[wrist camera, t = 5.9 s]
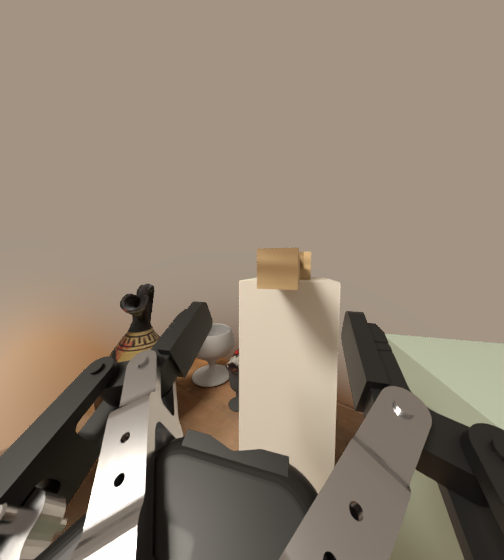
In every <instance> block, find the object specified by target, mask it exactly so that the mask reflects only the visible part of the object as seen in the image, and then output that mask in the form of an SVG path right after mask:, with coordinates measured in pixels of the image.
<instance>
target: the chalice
mask: <svg viewBox="0 0 504 560" xmlns="http://www.w3.org/2000/svg"><path fill="white" fill-rule="evenodd" d="M233 347H234V335H233V332H232V330H231V328H230V327H229V326H228V325H224V324H212V328H211V330H210V332H209V334H208V336H207V338H206V340H205V342H204V343H203V345H202V347H201V349H200V351H199V353H198V355H197V356H196V358H198V359H202V360H206V361H207V362H208V363H209V365H207V366H204V367H201V368H199V369H198V370H196V371H195V372H194V373H193V375H192V381H193V382H194V383H195V384H196V385H199V386H202V387H213V386H218V385H221V384H223V383H225V382H226V381H228V380H229V373H228V370H227V369H226V367H225V366H224V365H219V364H215V363H216V361H217V360H218V359H220V358H222V357H224V356H226V355H227V354H229V353H230V352H231V350H232V349H233Z"/></svg>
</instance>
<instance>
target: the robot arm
mask: <svg viewBox="0 0 504 560" xmlns="http://www.w3.org/2000/svg"><path fill="white" fill-rule="evenodd" d="M211 328H212V317H211V314H210V312H209V309H208V306H207V303H205V302H193V303H192V304H191V305H190V306H189V308H188V309H185V310H184V311H182V312H181V313H180V314H179V315H178V316H177V317H176V318H175V319H174V320H173V323H171V324H170V326H169V328H167V329H166V331H165V332H164V333H163V335H162V336H161V337H160V338H159V339H158V341H157V342H156V343H155V344H154V346H153V347H152V348H151V349H150V350H145V351H142V352H140V353H138V354H137V355H135V356H134V357H133V358H132V359H131V360H129V361H123V362H117V363H116V362H115V361H114V360H113V358H111V357H103V358H100V359H98V360H96V361H95V362H93V363H91V364H90V365H89V366H88V367H87V368H86V369H85V370H84V371H83V372H82V373H81V374H80V375H79V376H78V377H77V378H76V379H75V380H74V381H73V382H72V383H71V384H70V385H69V386H68V388H66V389H65V390H64V392H63V393H62V394H61V395H60V396H59V397H58V398H57V399H56V400H55V401H54V402H53V403H52V404H51V405H50V406H49V407H48V408H47V409H46V410H45V411H44V412H43V413H42V414H41V415H40V416H39V417H38V418H37V419H36V421H35V422H34V423H33V424H32V425H31V426H30V427H29V428H28V429H27V430H26V431H25V432H24V433H23V434H22V435H21V436H20V437H19V438H18V439H17V440H16V441H15V442H14V443H13V444H12V445H11V446H10V447H9V448H8V449H7V450H6V451H5V453H4V454H3V455H2V456H1V457H0V560H389V558H390V555H391V552H392V550H393V547H394V544H395V541H396V538H397V536H398V533H399V530H400V527H401V524H402V521H403V519H404V516H405V513H406V510H407V507H408V504H409V501H410V496H411V489H410V483H411V479H412V477H413V474H414V471H415V470H417V471H419V472H420V473H422V474H424V475H426V476H427V477H429V478H431V479H432V480H434V481H436V482H437V484H438V487H439V490H440V492H441V495H442V498H443V501H444V504H445V507H446V509H447V512H448V515H449V518H450V521H451V523H452V526H453V529H454V532H455V535H456V538H457V540H458V543H459V546H460V549H461V552H462V554H463V557H464V560H504V430H503V429H501V428H498V427H496V426H493V425H490V424H486V423H476V424H474V425H472V426H471V427H468V426H466V425H464V424H461V423H459V422H457V421H454V420H452V419H450V418H448V417H445V416H443V415H441V414H438V413H436V412H434V411H433V410H431V409H429V408H428V407H427V406H426V405H425V404H424V403H423V402H422V401H421V400H420V399H419V398H418V397H417V396H416V395H414V394H413V393H412V392H411V390H410V389H409V387H408V385H407V383H406V380H405V378H404V376H403V374H402V371H401V369H400V367H399V365H398V363H397V360H396V358H395V356H394V354H393V353H392V349H391V347H390V345H389V344H388V343H389V342H388V340H387V338H386V336H385V333H384V332H383V331H382V330H381V329H380V328H379V327H378V326H377V325H376V324H372V323H367V320H366V318H365V315H364V313H363V312H351V311H346V313H345V317H344V322H343V327H342V334H341V339H342V346H343V351H344V356H345V361H346V366H347V371H348V376H349V382H350V387H351V392H352V396H353V402H354V407H355V411H360V412H363V413H364V417H365V419H364V421H363V422H362V424H361V426H360V427H359V429H358V431H357V432H356V434H355V435H354V436H353V438H352V439H351V441H350V442H349V444H348V446H347V447H346V449H345V451H344V452H343V454H342V455H341V457H340V459H339V460H338V462H337V464H336V465H335V467H334V469H333V470H332V472H331V474H330V475H329V477H328V479H327V480H326V482H325V484H324V485H323V487H322V489H321V490H320V492H319V494H318V493H317V491H316V490H315V488H314V487H313V486H312V484H311V483H310V482H309V480H308V479H307V478H306V477H305V476H304V475H303V474H302V473H301V472H300V471H299V470H298V469H296V468H295V467H294V466H292V465H291V464H289V456H286V455H282V454H278V453H274V452H271V451H267V450H263V449H254V450H241V451H232V450H230V449H229V448H227V447H226V446H224V445H223V444H222V443H220V442H219V441H218V440H216V439H215V438H213V437H212V436H211V435H208V434H204V433H201V432H197V431H193V430H189V429H188V430H187V433H186V435H185V437H183V432H182V428H181V425H180V423H179V418H178V407H177V394H176V383H175V380H176V378H177V376H178V377H184V378H185V377H186V375H187V373H188V371H189V370H190V368H191V366H192V364H193V362H194V360H195V358H196V356H197V355H198V353H199V351H200V349H201V347H202V345H203V343H204V342H205V340H206V338H207V336H208V334H209V332H210V330H211ZM98 396H99V397H100V398H101V399H102V400H103V402H102V403H101V404H100V406H99V407H98V408H97V409H96V411H95V412H94V413H93V415H92V416H91V417H90V419H89V420H88V421H87V422H86V424H85V425H84V426H83V428H82V429H81V430H80V432H79V433H78V434H77V433H76V425H77V423H78V422H79V420H80V419H81V418H82V416H83V415H84V414H85V413H86V411H87V410H88V409H89V408H90V406H91V405H92V404H93V403H94V401H95V400H96V399H97V398H98ZM99 455H100V456H99ZM98 457H99V461H98V465H97V470H96V475H95V479H94V484H93V488H92V493H91V498H90V502H89V507H88V511H87V513H86V514H85V515H83V516H82V517H81V518H80V519H79V520H78V521H77V522H75V523H74V524H73V525H72V526H71V527H70V528H69V529H68V530H66V531H65V532H64V533H63V534H62V535H61V536H60V537H59V535H60V534H61V533H62V532H63V530H64V528H65V526H66V523H67V516H65V515H64V513H65V510H66V507H67V505H68V503H69V502H70V500H71V499H72V497H73V496H74V494H75V492H76V491H77V489H78V488H79V486H80V485H81V483H82V482H83V480H84V478H85V477H86V475H87V474H88V472H89V471H90V469H91V467H92V466H93V464H94V463H95V461H96V460H97V458H98ZM55 539H56V540H55ZM54 540H55V541H54ZM52 541H54V542H53V543H52V544H51V545H50V543H51V542H52Z"/></svg>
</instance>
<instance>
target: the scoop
mask: <svg viewBox="0 0 504 560" xmlns="http://www.w3.org/2000/svg"><path fill="white" fill-rule="evenodd" d="M310 276H311V252H299V249H298V248H269V249H268V248H267V249H257V289H280V290H298V285H299V280H310V278H311V277H310Z"/></svg>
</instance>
